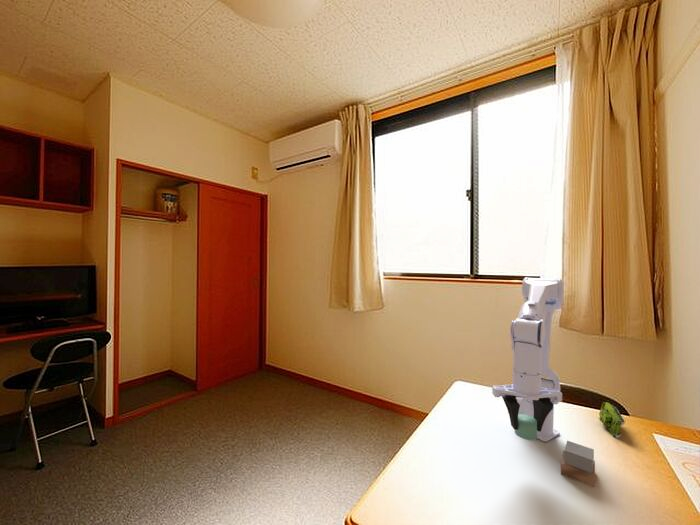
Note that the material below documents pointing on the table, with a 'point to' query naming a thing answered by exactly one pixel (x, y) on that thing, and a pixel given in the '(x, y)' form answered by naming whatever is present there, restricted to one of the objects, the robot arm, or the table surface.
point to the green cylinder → (526, 427)
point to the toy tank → (611, 419)
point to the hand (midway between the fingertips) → (525, 428)
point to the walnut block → (578, 473)
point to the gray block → (579, 456)
